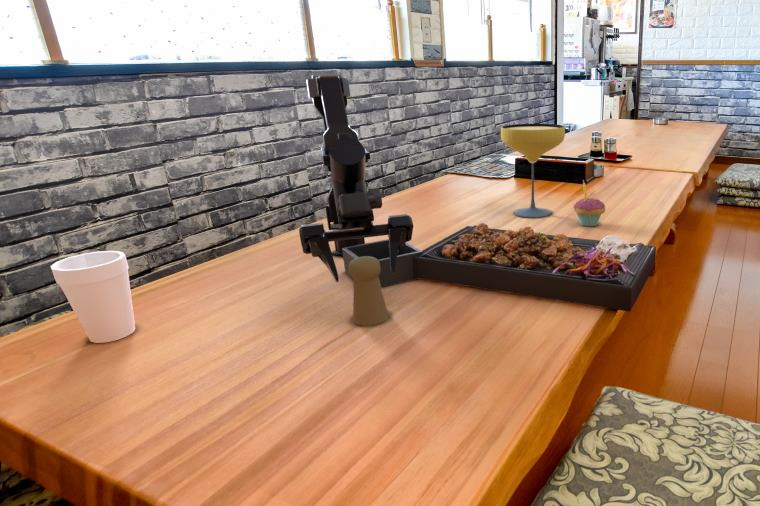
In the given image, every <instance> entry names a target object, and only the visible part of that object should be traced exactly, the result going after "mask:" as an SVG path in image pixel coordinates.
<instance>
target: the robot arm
mask: <svg viewBox="0 0 760 506" xmlns="http://www.w3.org/2000/svg"><path fill="white" fill-rule="evenodd" d="M349 81H350V80H349V78H348V77H342V75H341V74H312V75H311V78H307V79H306V88H307V93H308V99H312V104H313V108H314V109H315V110H316V112H317V113H318V114H319V115H320V116H321V118H322V122H323V130H324V133H323V135H322V137H323V138H322V139H323V146H321V147H320V153H321V159H322V166H323V168H327V171H328V172H329V173H330V177H331V178H330V179H331V187H330V190H329V192H328V194H327V197H326V198H327V204H325V205H324V207H325V208H324V209H325V214H326V222H327V229H326V230H325V227H324V222H318V223H308V224H301V226H300V227H299V228H298V233H299V239H300V243H301V248H302V253H303V254H306V255H311V256H312V258H319V260H320V261H321V262H322V263H323V264H324V265H325V266H326V268H327V269H328V271H329V273H330V274H331V276H332V278H333V279H334V281H335V282H336V283H339V282H340V280H339V273H338V268H337V266H336V263H335V259H334V256H341V257H343V252H342V248H345V247H350V246H355V245H361V244H366V240H365V238H373V237H383V236H387V237H388V239H389V257H390V269H391V272H392V274H394V272H395V264H396V257H397V254H398V251H399V247H400V246H404V245H405V242H407V243H409V242H411V241H412V238H413V231H414V222H413V217H411V215H409V214H408V213H404V214H394V215H393V214H392V215H388V216H387V223H383V224H374V221H375V214H374V211H373V210H378V209H382V207H383V199H382V193H381V190H380V189H381V188H380V187H376V188H375V187H373V188H369V189H368V190H367V186H366V182H365V177H366V165H367V164H368V163H369V160H371V152H370V151H368V150H367V148H366V147H365V146H364V145H365V144H362V142H361V141H360V139H359V133H357V132H356V130H354V129H352V128H351V127H350V123H349V118H348V113H347V109H346V108H347V106H348V98H349V97H351V90H350V82H349ZM330 242H334V249H335V250H331V245H330ZM333 255H334V256H333Z"/></svg>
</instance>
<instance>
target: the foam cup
mask: <svg viewBox="0 0 760 506" xmlns="http://www.w3.org/2000/svg"><path fill="white" fill-rule="evenodd" d="M50 269H51V272H52V274H53V278H54V280H55V282H56V284H57V285H59V287H60V289H61V290H62V292H63V294H64V296H65V297H66V300H67V301H68V303H69V305H70V307H71V308H72V310H73V312H74V314H75V316H76V318H77V320H78V321H79V324H80V325H81V327H82V329H83V331H84V332H85V334H86V336H87V338H88V340H89V341H90V343H95V344H100V343H101V344H102V343H109V342H114V341H118V340H121V339H123V338H127V337H129V336H130V335H132V334H133V333H134V332H135V330H136V322H135V314H134V307H133V298H132V292H131V284H130V283H131V282H130V276H129V269H130V266H129V263H128V260H127V256H126V254H125V253H124V252H123V251H120V250H119V251H118V250H100V251H99V250H98V251H91V252H85V253H80V254H77V255H73V256H68V257H66V258H63V259H60V260H58V261H55V262H54V263H53V264H51V265H50Z"/></svg>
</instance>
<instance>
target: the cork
mask: <svg viewBox="0 0 760 506" xmlns="http://www.w3.org/2000/svg"><path fill="white" fill-rule="evenodd" d="M380 271H381V267H380V263H379V261H378V260H377V259H376V258H374V257H370V256H364V257H358V258H355V259H353V260H352V261H351V262H350V264H349V273H350V276H351V277H352V278H353V279H354V280H353V279H352V278H351V277H350V276H349V277H350V278H351V279H352V280H353V285H352V286H353V289H352V293H353V294H352V296H353V297H352V302H353V303H352V305H353V306H352V321H353V323H354V324H355V325H358V326H363V327H370V326H376V325H380V324H382V323H384V322H385V321H387V320H388V319H389V312H388V308H387V304H386V301H385V296H384V292H383V289H382V287H381V285H380V281H379V277H378V276H379V274H380Z"/></svg>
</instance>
